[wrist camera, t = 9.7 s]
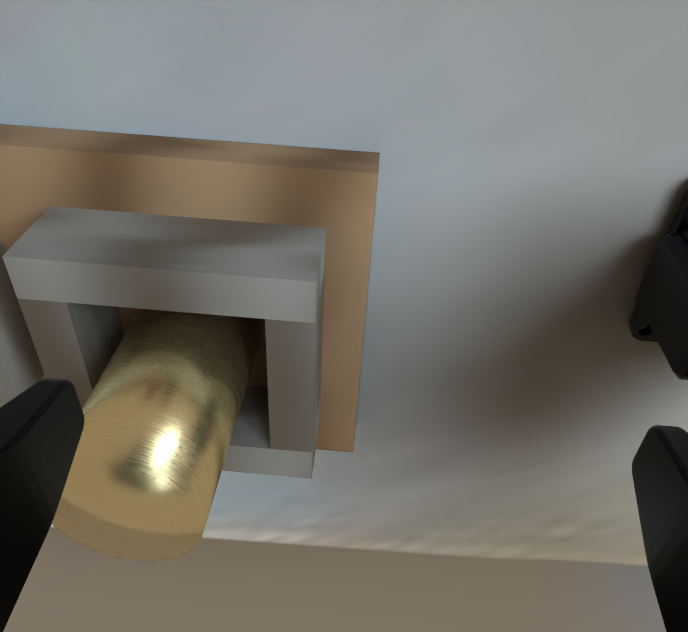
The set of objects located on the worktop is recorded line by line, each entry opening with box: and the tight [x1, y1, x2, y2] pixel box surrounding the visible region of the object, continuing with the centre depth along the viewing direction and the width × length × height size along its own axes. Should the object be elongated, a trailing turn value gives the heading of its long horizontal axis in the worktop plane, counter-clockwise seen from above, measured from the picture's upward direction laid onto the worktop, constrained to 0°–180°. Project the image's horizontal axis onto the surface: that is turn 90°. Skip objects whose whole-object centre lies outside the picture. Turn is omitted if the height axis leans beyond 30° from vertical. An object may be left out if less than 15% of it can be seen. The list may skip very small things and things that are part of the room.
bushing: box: [52, 309, 261, 561], centre depth 19 cm, size 4×4×8 cm
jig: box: [0, 124, 379, 478], centre depth 22 cm, size 18×13×4 cm
